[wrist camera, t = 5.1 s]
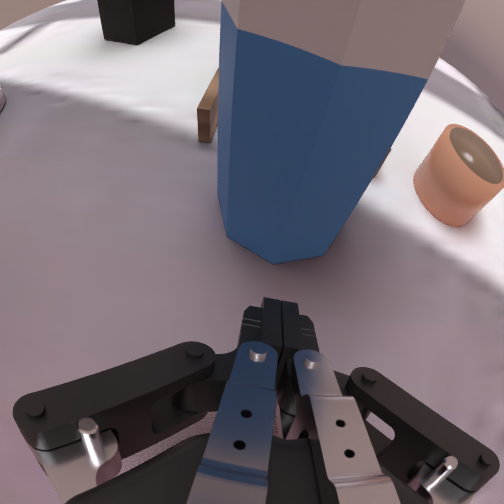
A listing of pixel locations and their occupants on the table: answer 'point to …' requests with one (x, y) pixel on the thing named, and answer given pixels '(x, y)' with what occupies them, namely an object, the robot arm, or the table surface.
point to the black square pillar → (135, 19)
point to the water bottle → (314, 110)
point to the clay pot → (458, 176)
